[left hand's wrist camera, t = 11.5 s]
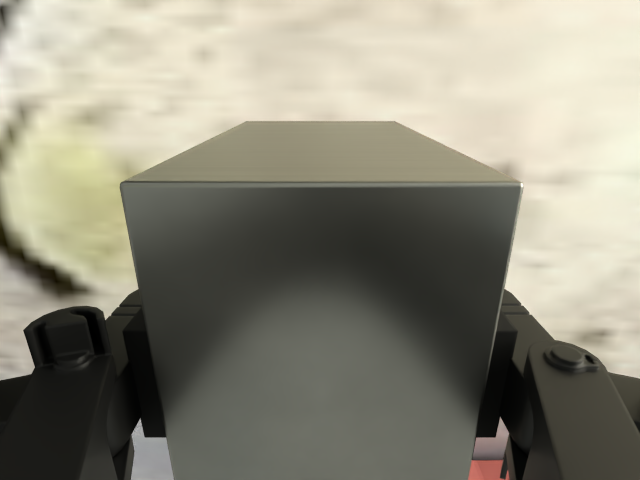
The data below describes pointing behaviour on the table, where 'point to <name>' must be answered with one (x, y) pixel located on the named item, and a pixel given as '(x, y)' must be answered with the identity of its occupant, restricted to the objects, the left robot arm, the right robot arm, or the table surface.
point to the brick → (321, 300)
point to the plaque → (486, 470)
